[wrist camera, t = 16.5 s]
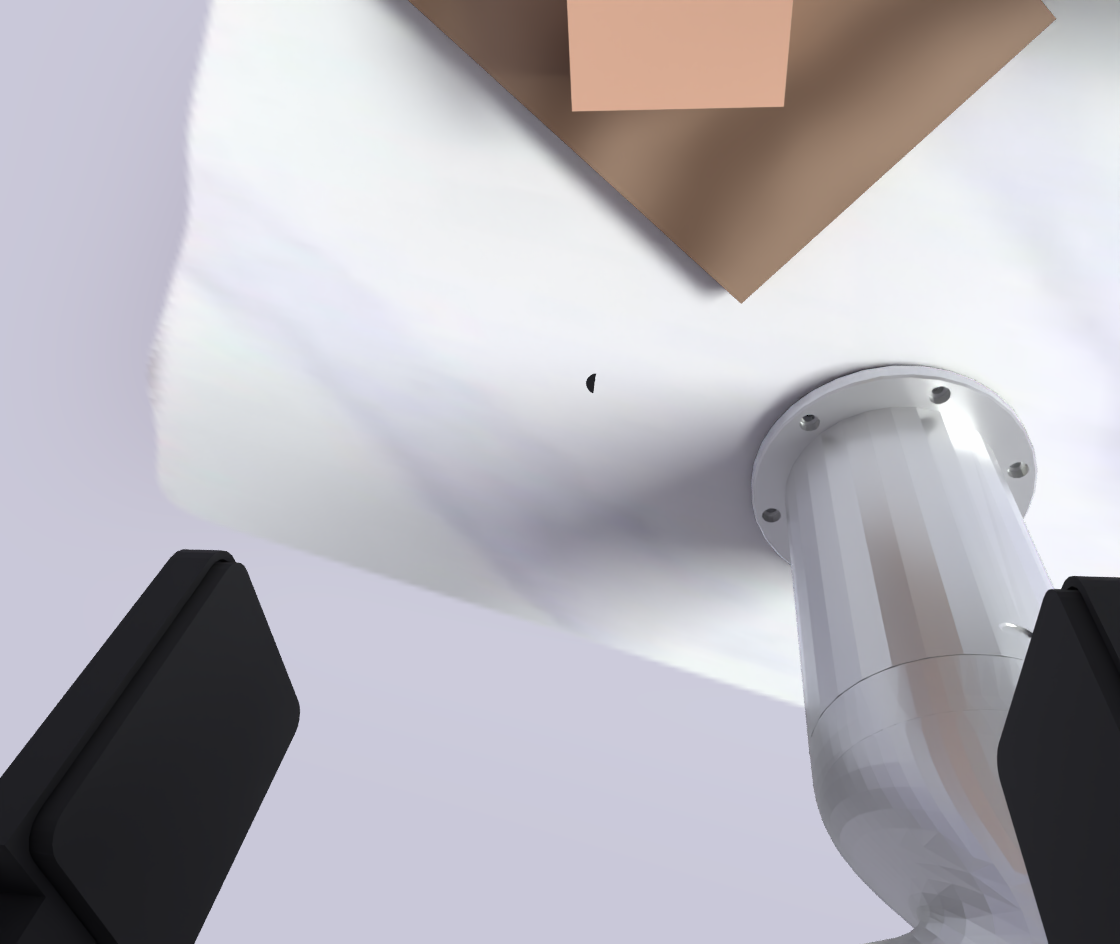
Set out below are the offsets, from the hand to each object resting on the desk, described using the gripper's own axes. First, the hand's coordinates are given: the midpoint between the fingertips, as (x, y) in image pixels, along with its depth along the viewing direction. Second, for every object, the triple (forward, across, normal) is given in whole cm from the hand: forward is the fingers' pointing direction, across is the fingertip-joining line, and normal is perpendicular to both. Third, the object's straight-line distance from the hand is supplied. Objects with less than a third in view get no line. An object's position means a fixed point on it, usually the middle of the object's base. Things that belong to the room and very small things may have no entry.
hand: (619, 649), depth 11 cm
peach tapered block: (+27, 0, -4) cm, 27 cm away
